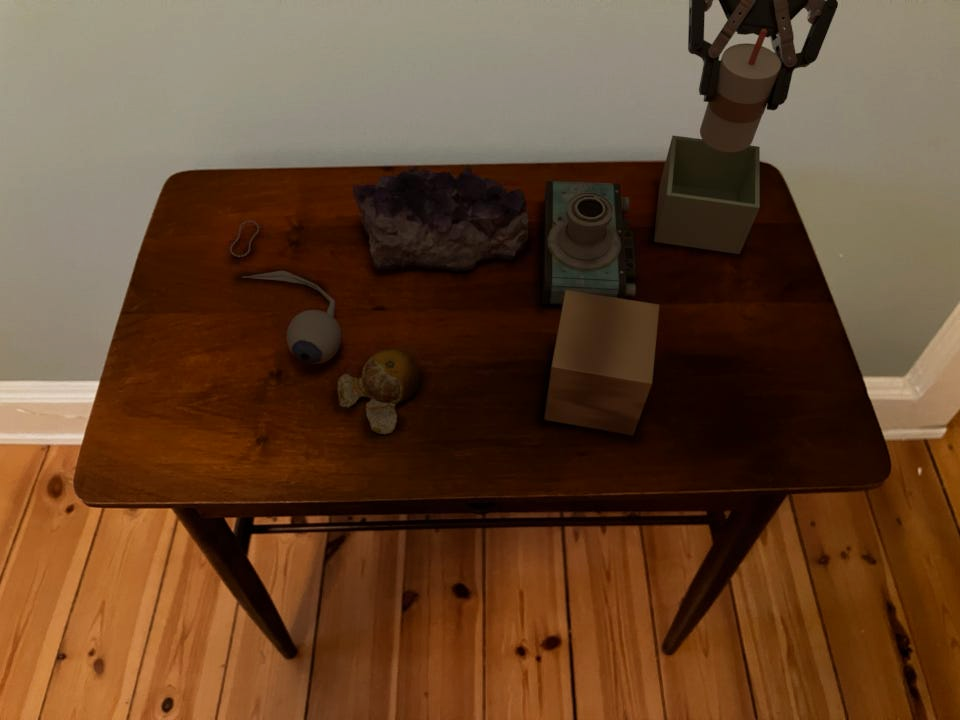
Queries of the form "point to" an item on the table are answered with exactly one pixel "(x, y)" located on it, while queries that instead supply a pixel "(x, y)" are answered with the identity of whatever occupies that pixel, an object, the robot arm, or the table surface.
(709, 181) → the bin
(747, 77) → the paper cup
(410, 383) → the fruit
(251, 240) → the necklace
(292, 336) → the novelty item
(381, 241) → the geode
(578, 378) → the stand
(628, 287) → the camera
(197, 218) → the table surface
